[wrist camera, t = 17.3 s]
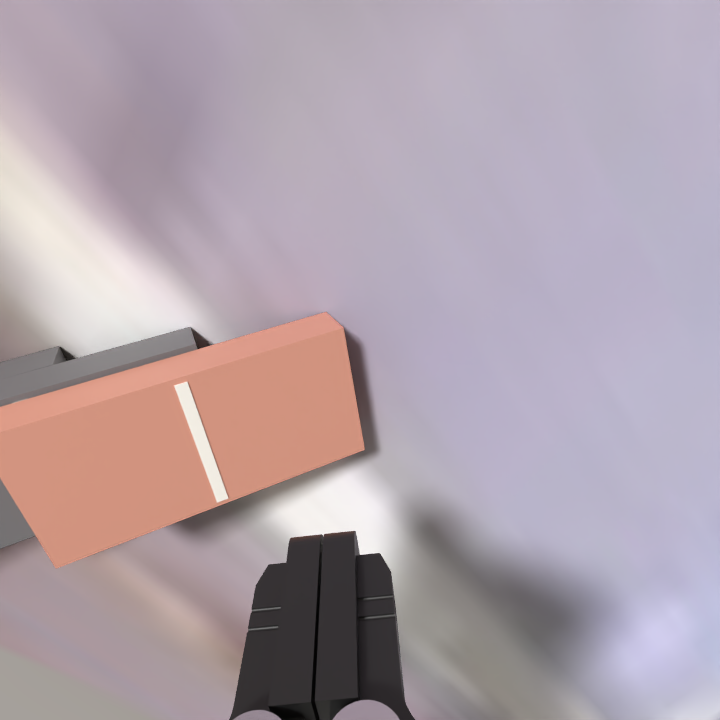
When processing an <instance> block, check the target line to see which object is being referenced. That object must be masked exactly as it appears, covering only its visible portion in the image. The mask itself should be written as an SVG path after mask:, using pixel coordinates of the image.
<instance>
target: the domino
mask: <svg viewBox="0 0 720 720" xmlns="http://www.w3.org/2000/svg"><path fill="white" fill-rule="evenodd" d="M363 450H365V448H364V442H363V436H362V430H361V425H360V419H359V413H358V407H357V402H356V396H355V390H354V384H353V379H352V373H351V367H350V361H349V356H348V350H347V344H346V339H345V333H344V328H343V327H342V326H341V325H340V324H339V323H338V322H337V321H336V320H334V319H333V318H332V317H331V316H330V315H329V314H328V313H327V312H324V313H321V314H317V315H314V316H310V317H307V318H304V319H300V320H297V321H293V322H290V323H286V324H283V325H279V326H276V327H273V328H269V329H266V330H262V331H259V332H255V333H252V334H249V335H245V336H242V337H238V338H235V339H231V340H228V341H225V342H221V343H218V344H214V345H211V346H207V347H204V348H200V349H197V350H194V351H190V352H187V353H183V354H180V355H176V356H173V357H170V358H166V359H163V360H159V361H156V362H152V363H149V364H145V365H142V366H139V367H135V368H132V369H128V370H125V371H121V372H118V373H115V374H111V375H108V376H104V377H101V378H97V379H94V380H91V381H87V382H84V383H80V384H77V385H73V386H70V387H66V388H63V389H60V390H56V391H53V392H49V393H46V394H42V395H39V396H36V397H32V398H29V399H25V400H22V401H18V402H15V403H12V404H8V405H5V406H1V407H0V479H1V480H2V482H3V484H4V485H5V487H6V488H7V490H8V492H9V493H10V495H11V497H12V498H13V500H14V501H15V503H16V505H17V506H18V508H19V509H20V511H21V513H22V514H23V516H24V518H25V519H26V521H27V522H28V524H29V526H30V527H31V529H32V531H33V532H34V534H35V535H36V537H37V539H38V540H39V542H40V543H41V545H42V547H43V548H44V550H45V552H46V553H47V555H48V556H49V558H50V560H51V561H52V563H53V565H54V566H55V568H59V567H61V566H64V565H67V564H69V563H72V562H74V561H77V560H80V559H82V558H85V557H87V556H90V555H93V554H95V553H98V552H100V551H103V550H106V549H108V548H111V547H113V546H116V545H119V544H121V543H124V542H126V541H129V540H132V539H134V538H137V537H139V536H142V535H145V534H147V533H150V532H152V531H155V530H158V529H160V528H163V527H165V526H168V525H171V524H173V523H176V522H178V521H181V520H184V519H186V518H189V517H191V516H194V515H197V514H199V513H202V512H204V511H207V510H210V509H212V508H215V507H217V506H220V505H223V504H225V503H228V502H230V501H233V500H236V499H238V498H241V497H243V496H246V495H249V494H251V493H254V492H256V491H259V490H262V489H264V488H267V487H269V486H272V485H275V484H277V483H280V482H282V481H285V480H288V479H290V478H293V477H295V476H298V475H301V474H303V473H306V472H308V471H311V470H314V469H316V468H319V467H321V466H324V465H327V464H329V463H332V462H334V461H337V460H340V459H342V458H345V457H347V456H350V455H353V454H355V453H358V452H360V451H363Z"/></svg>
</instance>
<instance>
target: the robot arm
mask: <svg viewBox="0 0 720 720" xmlns="http://www.w3.org/2000/svg"><path fill="white" fill-rule="evenodd" d="M229 720H415V719H414V718H413V716H412V715H411V713H410V712H409V710H408V708H407V706H406V703H405V697H404V687H403V677H402V667H401V656H400V646H399V636H398V626H397V616H396V608H395V600H394V592H393V584H392V576H391V571H390V569H389V568H388V566H387V564H386V563H385V561H384V559H383V558H382V556H381V554H380V553H376V554H366V555H360V554H359V548H358V542H357V536H356V532H355V531H349V532H340V533H330V534H324V537H323V535H313V536H303V537H293V538H291V539H290V541H289V547H288V554H287V562H286V563H280V564H270V565H268V567H267V568H266V570H265V571H264V573H263V575H262V576H261V578H260V580H259V581H258V583H257V585H256V588H255V593H254V599H253V604H252V613H251V615H250V620H249V626H248V633H247V637H246V642H245V648H244V653H243V658H242V664H241V669H240V675H239V680H238V686H237V691H236V697H235V702H234V707H233V711H232V714H231V717H230V719H229Z"/></svg>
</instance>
